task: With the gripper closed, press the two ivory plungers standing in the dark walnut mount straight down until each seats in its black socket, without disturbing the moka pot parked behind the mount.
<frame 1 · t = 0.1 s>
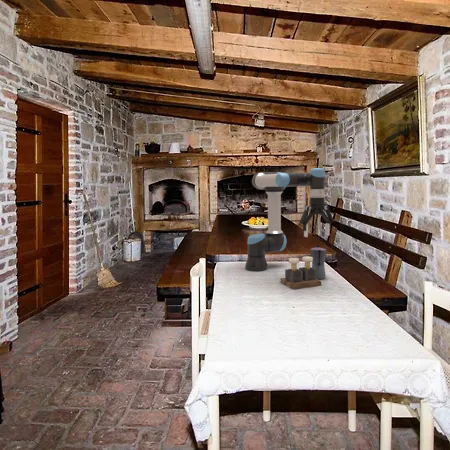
hand: (316, 236, 186), 28 cm above the table, fingers open, 13 cm apart
plunger far: (307, 264, 193), point 11 cm above the table, slide at 0.0 cm
moka pot: (318, 278, 205), on the table
mount: (300, 284, 192), on the table
plunger near: (293, 265, 189), point 11 cm above the table, slide at 0.0 cm
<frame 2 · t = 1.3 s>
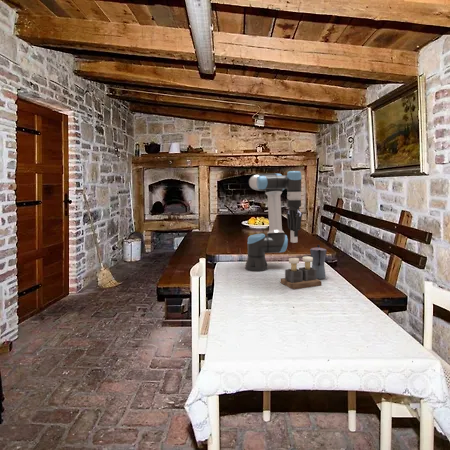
hand: (293, 242, 188), 24 cm above the table, fingers closed
nothing on the table moved.
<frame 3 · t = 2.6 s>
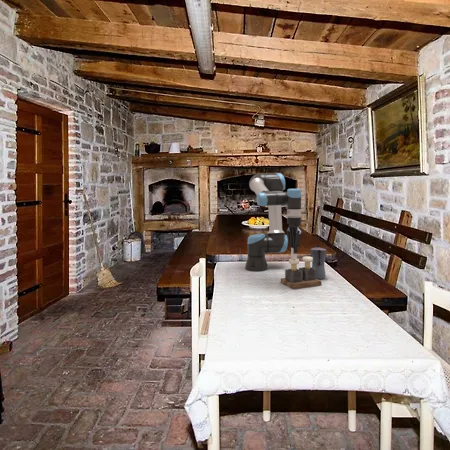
hand: (293, 258, 189), 15 cm above the table, fingers closed
plunger near: (293, 266, 190), point 11 cm above the table, slide at 0.3 cm, touching gripper
everything else where it was.
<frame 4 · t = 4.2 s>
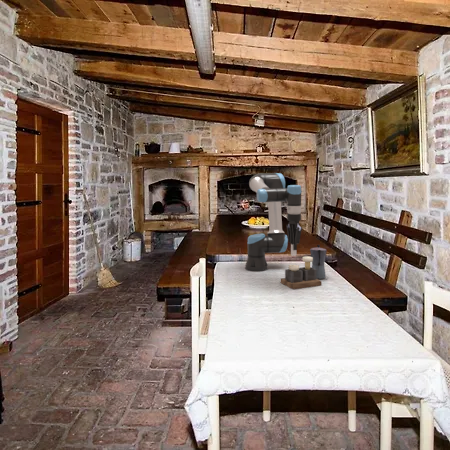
hand: (293, 255, 189), 17 cm above the table, fingers closed
plunger near: (293, 272, 190), point 7 cm above the table, slide at 4.0 cm
everything else where it was.
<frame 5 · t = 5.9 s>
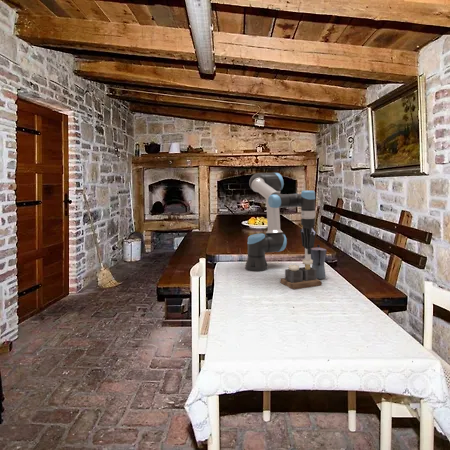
hand: (307, 259, 192), 14 cm above the table, fingers closed
plunger far: (307, 266, 193), point 10 cm above the table, slide at 1.5 cm, touching gripper
everything else where it was.
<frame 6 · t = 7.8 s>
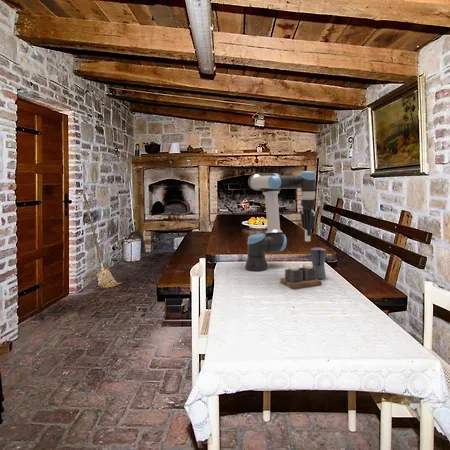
hand: (307, 241, 191), 24 cm above the table, fingers closed
plunger far: (307, 271, 193), point 7 cm above the table, slide at 4.0 cm
everything else where it was.
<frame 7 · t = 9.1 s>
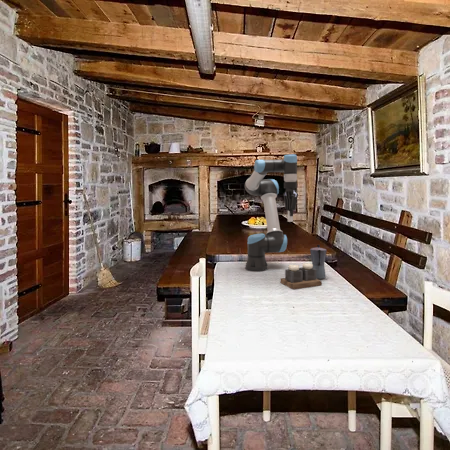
hand: (290, 221, 201), 34 cm above the table, fingers closed
nothing on the table moved.
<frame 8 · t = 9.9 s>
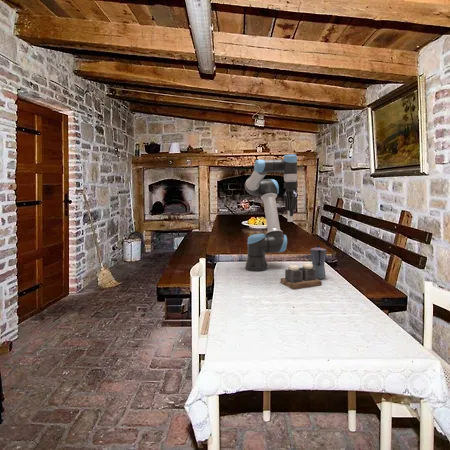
hand: (290, 221, 201), 34 cm above the table, fingers closed
nothing on the table moved.
at the end: plunger near slide at 4.0 cm; plunger far slide at 4.0 cm; moka pot moved 0.2 cm from its start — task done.
